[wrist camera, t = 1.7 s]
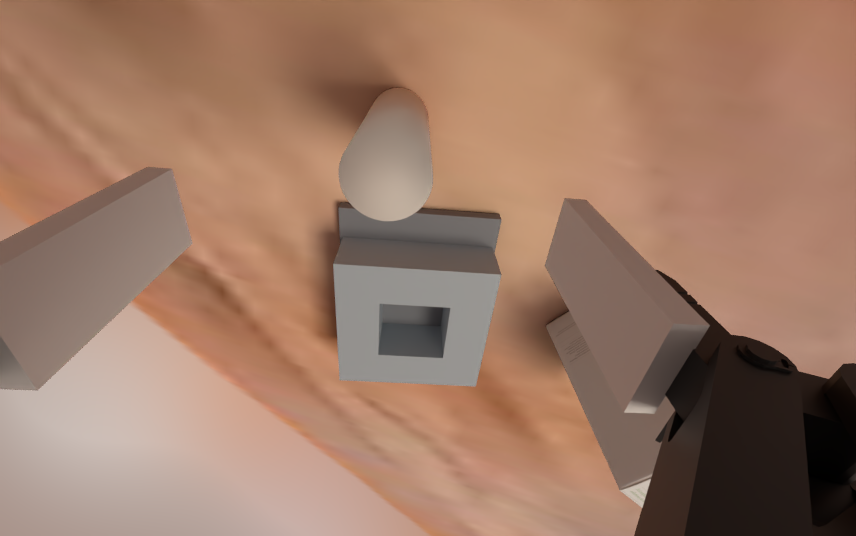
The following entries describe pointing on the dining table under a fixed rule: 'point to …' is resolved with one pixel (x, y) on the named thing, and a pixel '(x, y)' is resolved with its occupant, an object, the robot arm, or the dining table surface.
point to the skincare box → (611, 413)
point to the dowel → (389, 158)
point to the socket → (415, 295)
